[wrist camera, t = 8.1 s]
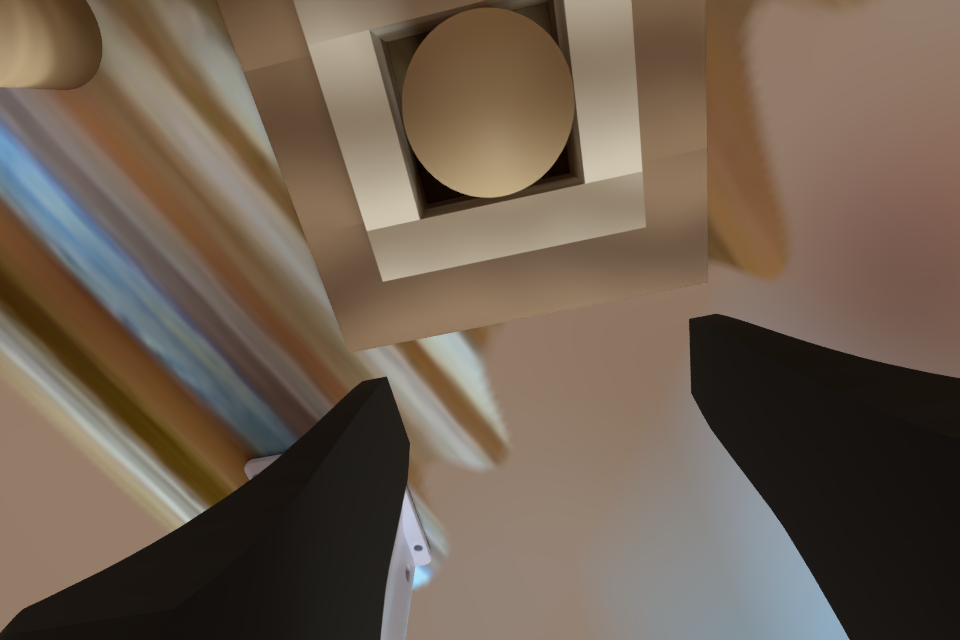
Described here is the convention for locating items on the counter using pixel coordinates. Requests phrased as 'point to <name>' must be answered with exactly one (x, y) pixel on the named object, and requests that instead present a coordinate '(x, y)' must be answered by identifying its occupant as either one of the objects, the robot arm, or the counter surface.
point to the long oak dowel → (488, 102)
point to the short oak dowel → (48, 44)
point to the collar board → (507, 274)
